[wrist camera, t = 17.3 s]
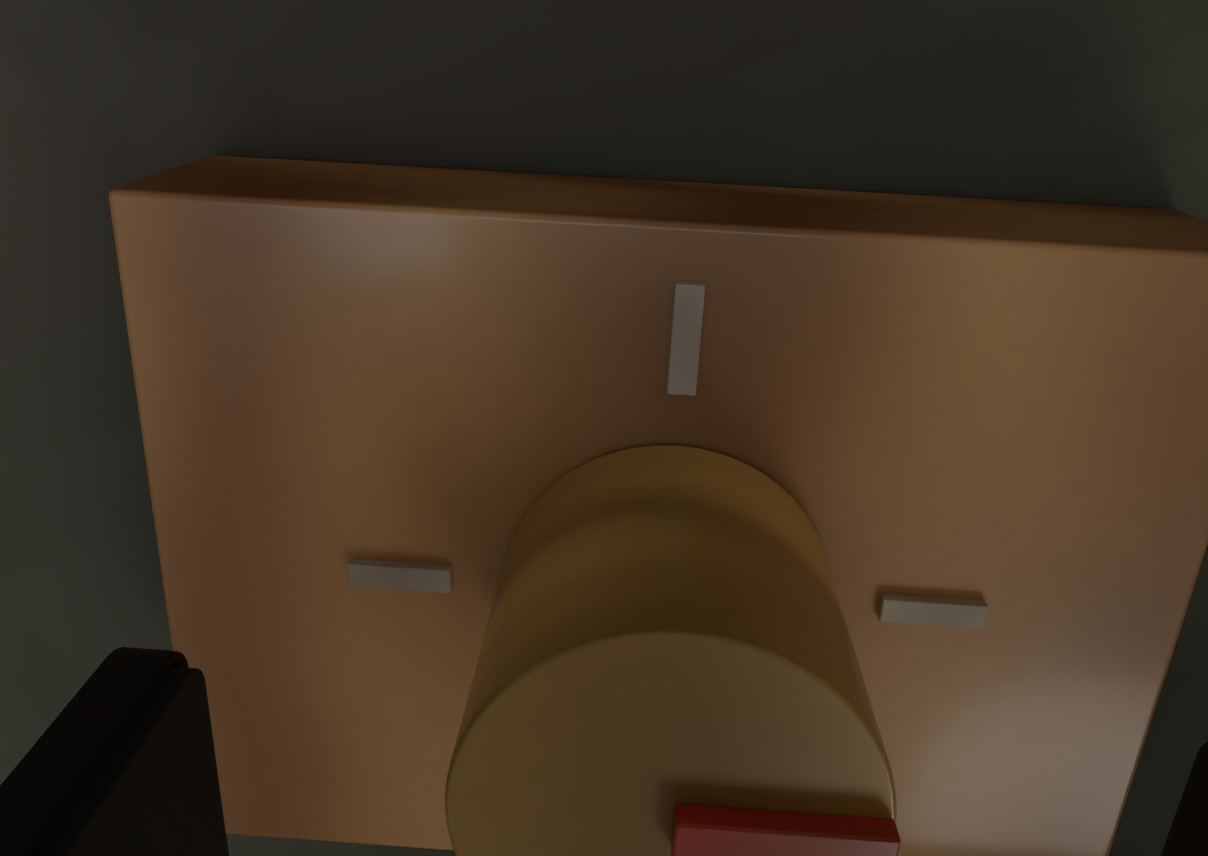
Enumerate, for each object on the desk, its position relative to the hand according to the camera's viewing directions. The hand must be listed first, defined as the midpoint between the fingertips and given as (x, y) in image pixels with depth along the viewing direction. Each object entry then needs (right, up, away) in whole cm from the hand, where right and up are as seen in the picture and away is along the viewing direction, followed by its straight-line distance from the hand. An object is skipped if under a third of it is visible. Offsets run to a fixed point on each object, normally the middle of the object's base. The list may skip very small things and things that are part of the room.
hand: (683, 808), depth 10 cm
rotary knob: (0, +1, +4) cm, 4 cm away
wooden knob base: (0, +3, +7) cm, 7 cm away
